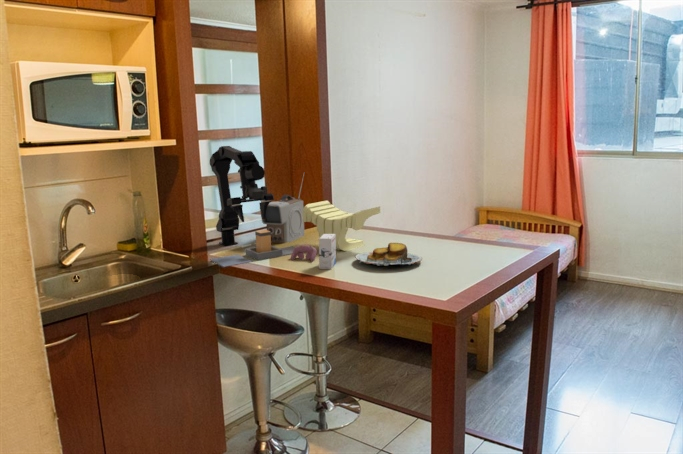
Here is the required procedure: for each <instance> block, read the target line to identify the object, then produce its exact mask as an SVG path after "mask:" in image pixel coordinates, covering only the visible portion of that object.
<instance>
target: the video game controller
mask: <svg viewBox="0 0 683 454" xmlns="http://www.w3.org/2000/svg"><path fill="white" fill-rule="evenodd" d="M295 247H296V248H294V250H293V253H292V255H290V260H291V261H294V260H296V258H297V257H298V259H299V260H302V259H306V260H310V262H311V263H314V261H315V259H316V257H317V253H318V250H317V248H315V247H314V246H312V245H309V244H302V245H296V246H295ZM304 253H306V254H304Z"/></svg>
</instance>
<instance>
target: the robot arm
mask: <svg viewBox="0 0 683 454" xmlns="http://www.w3.org/2000/svg"><path fill="white" fill-rule="evenodd" d="M232 161H234V162H233V163H234V164H235V165H236V166H237V167H239V169H238V170H237V173H238V174H239V177H240V186H239V188H240V190H241V192H242V195H241V196H237V197H232V195H231V189H230V188H231V187H230V183H229V177H228V176H229V172H230V170H231V164H232ZM209 165H210V167H211V168H210V169H211V171H212V172H213V174H214V175H215V177H216V181H217V188H218V195H219V201H220V208H221V209H220V211H219V214H218V221H217V223H216V225H215V227H216V232H219V233H220V235H221V241H220V242H218V244H220V245H222V246H225V247H226V246H233V245H238V244H239V242H238V241H236V239H235V238H236V237H235V231H237V230H239V228H240V221H241V223H245V217H244V213H243V212H244V211H243V204H244V203H251V202H257V201H260V202H259V211H260V210H261V212H260V216H261V215H262V218H261V220H262V219H265V214H266V210H267V206H268V204H269V203H270V202H272V201H274V200H275V196H274V195H273V193H271V192H270V193H268V189H267V187H268V186H266V185H264V186H263V185H262V186H260V187H258V183H257V182H256V181H259V180H262V179H264V178H265V175H266V171H265V169H264V168H263V166H261V165H260V162H259V160H258V159H257V157H256V156H255V154H254V152H253V151H251V150H247V151H246V150H245V151H242V150H241V149H237V148H234V147H232V146H230V145H223V146H222V145H221V146H219V148H218V149H217V150H216V151H215V152H213V153H212V154H211V156H210V158H209ZM242 203H243V204H242Z"/></svg>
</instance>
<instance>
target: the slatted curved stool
mask: <svg viewBox="0 0 683 454" xmlns="http://www.w3.org/2000/svg"><path fill="white" fill-rule="evenodd" d="M303 207H304V209H303V222H304V223H306V222H307V223H312V224H313V225H314V226H316V229H317V234H318V237H319V238H320V237H321V236H322V235H323V234H336V250H339V251H345V252H347V251H350V250H354V249H356V248H357V249H358V248H361V247H363V246H366V244H365V242H364V240H361V239H360V240H359V239H354V238H348V237H346V235H347V233H348V230H349V229H353V230H355V231H359V230H363V229H364V225H365V222H366V221H367V219H370V217H372V216H375V215H379V214H381V206H376V207H372V208H368V209H363V210H360V211H357V212H355V213H349V212H346V211H344V210H342V209H340V208H338V207H336V206H335V205H333V204H331V202H330V201H329V200H323V201H318V202H312V203H307V204H306V205H305V206H303ZM319 238H318V239H319Z"/></svg>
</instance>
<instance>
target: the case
mask: <svg viewBox="0 0 683 454" xmlns="http://www.w3.org/2000/svg"><path fill="white" fill-rule="evenodd" d="M294 248H296V246H286V247H279V248H278V247H276V246H273V245H271V251H268V252H262V253H257V252H256V247H255V246H253V247H249V248H248V247H247V248H245V256H247V257H249V258H251V259H253V260H255V261H263V260H269V259H275V258H279V257H286V256H291V255H292V253H293V250H294Z"/></svg>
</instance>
